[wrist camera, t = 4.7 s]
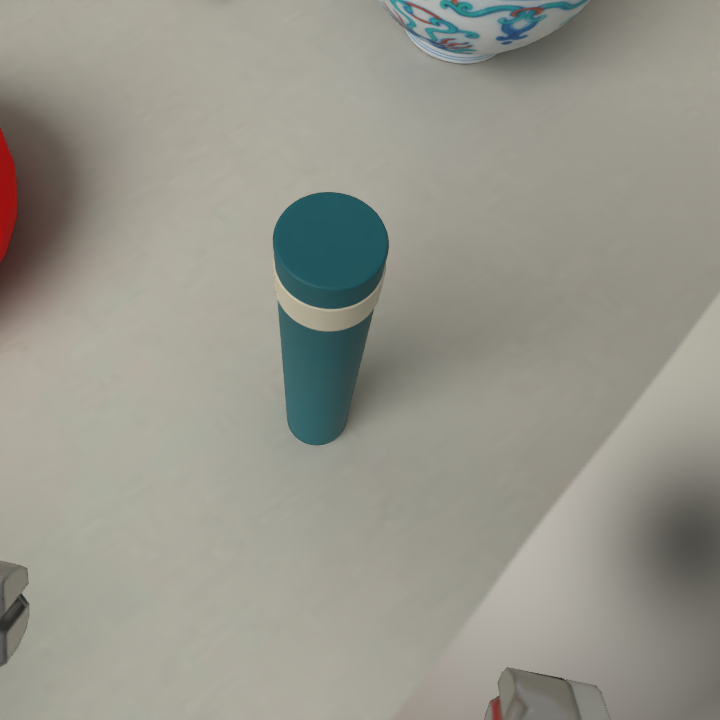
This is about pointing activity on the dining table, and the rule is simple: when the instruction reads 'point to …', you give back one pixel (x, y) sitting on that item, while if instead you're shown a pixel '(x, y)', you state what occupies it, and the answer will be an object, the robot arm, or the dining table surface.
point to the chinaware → (479, 24)
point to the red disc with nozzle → (7, 196)
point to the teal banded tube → (325, 305)
